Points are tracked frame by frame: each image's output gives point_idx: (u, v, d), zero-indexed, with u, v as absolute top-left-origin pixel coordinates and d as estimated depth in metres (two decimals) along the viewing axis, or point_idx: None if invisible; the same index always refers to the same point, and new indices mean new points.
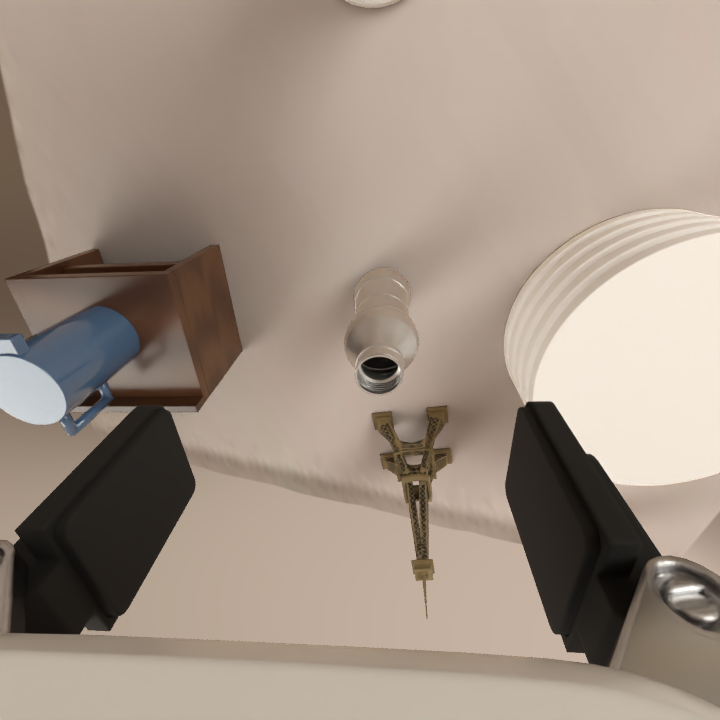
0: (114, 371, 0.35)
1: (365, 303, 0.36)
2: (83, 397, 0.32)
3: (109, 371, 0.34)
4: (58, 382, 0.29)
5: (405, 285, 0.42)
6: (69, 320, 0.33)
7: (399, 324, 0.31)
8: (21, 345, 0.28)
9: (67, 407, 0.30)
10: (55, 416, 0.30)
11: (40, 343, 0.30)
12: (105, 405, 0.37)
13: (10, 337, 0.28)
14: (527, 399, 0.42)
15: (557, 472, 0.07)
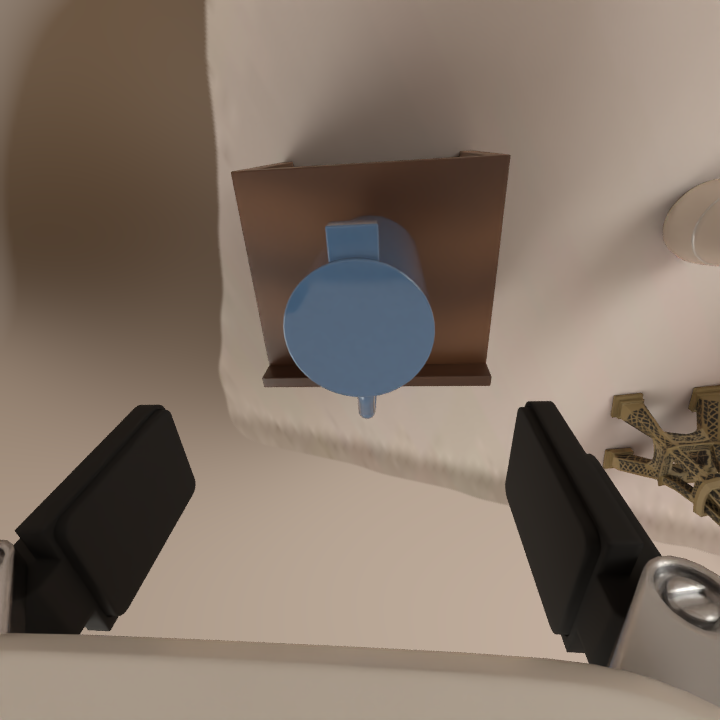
0: None
1: None
2: None
3: None
4: (432, 313, 0.16)
5: None
6: None
7: None
8: (379, 242, 0.15)
9: None
10: (394, 380, 0.17)
11: (379, 248, 0.16)
12: None
13: (371, 222, 0.14)
14: None
15: (557, 472, 0.07)
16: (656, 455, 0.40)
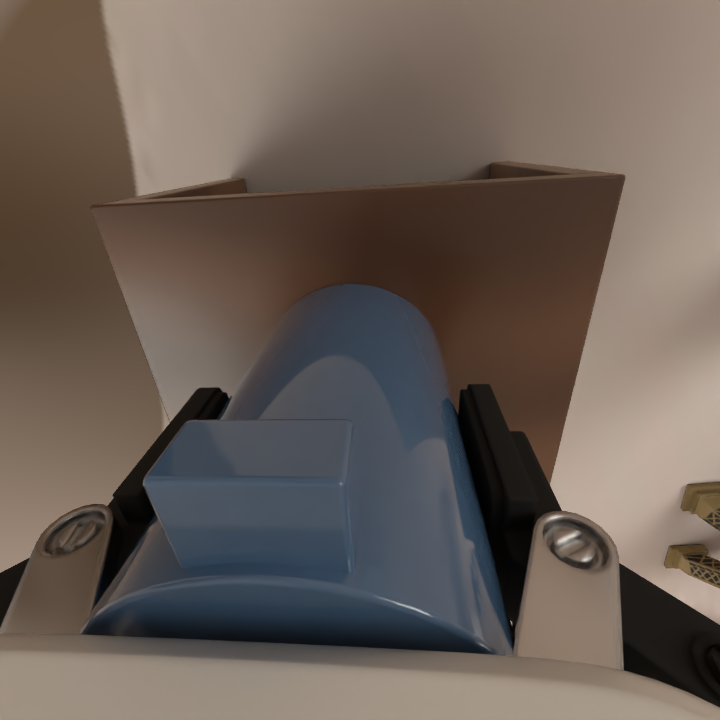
0: None
1: None
2: None
3: None
4: None
5: None
6: (338, 327, 0.10)
7: None
8: (355, 498, 0.04)
9: None
10: None
11: (361, 447, 0.06)
12: None
13: (321, 463, 0.04)
14: None
15: (480, 443, 0.08)
16: None
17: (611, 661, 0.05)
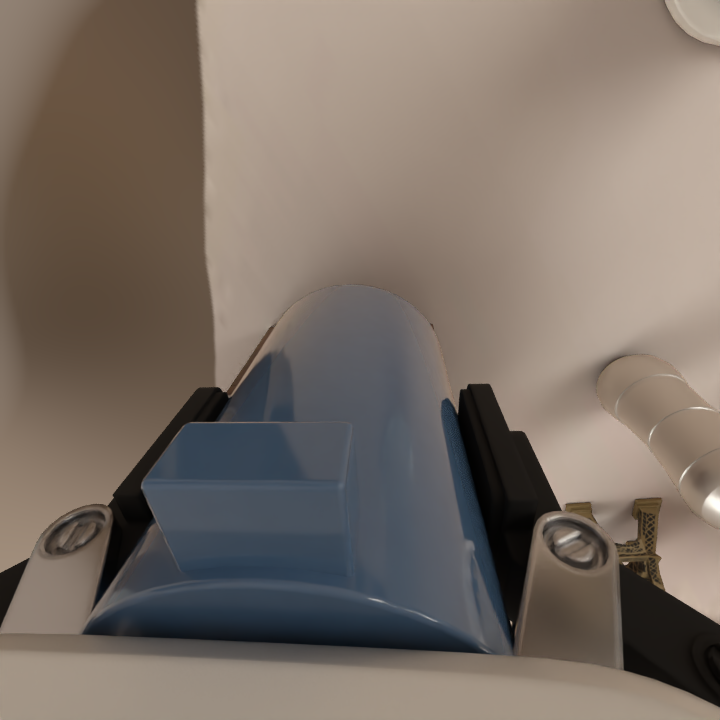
0: None
1: (690, 424, 0.28)
2: None
3: None
4: None
5: (685, 381, 0.34)
6: (338, 328, 0.10)
7: None
8: (355, 501, 0.04)
9: None
10: None
11: (361, 449, 0.06)
12: None
13: (320, 467, 0.04)
14: None
15: (480, 443, 0.08)
16: None
17: (611, 661, 0.05)
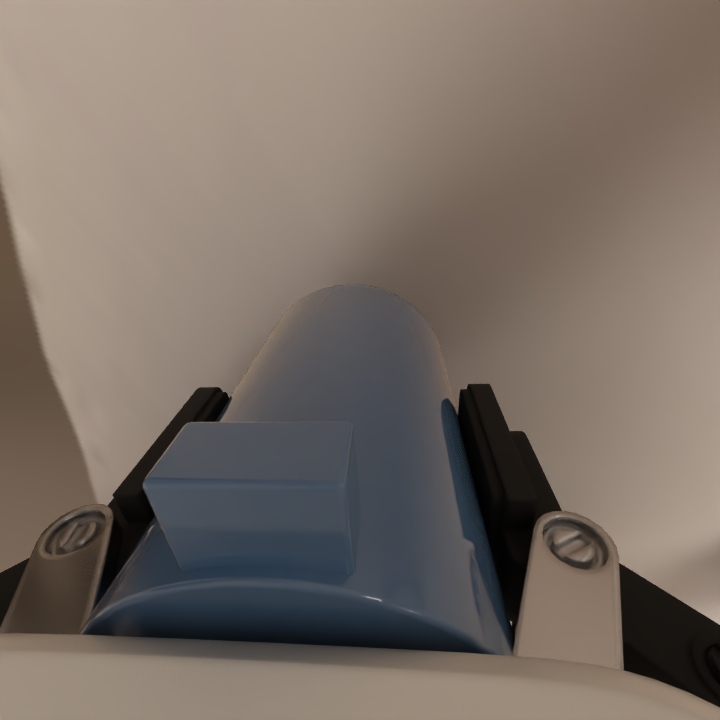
0: None
1: None
2: None
3: None
4: None
5: None
6: (338, 328, 0.10)
7: None
8: (355, 500, 0.04)
9: None
10: None
11: (361, 449, 0.06)
12: None
13: (321, 467, 0.04)
14: None
15: (480, 443, 0.08)
16: None
17: (611, 661, 0.05)
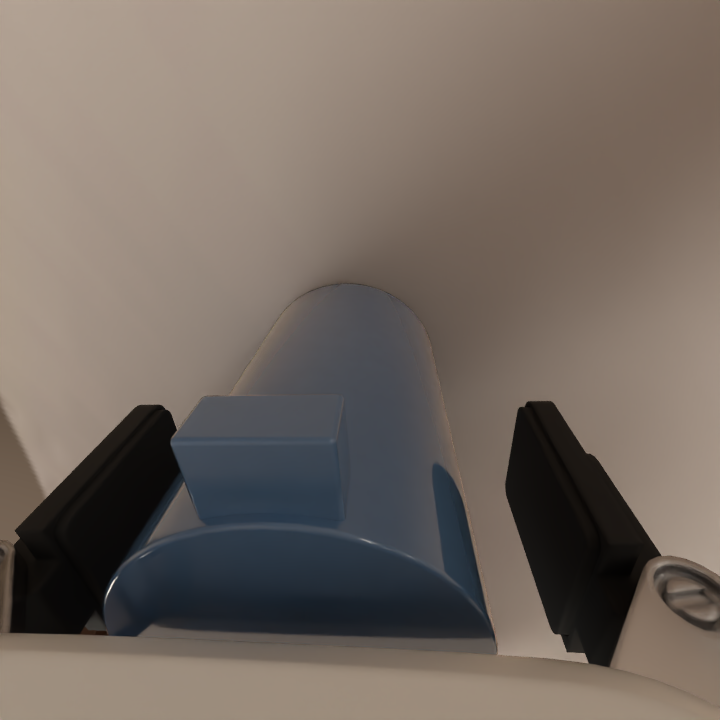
0: None
1: None
2: None
3: None
4: (494, 628, 0.06)
5: None
6: (334, 323, 0.10)
7: None
8: (345, 460, 0.05)
9: None
10: None
11: (353, 424, 0.07)
12: None
13: (316, 426, 0.05)
14: None
15: (557, 472, 0.07)
16: None
17: None
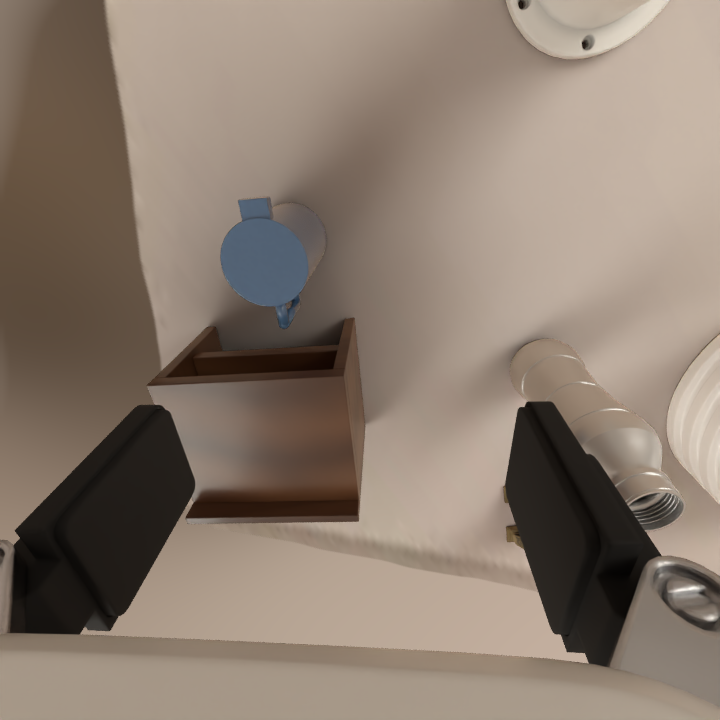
0: None
1: (569, 397, 0.31)
2: (308, 279, 0.30)
3: (317, 262, 0.33)
4: (304, 249, 0.27)
5: (582, 361, 0.36)
6: (279, 207, 0.32)
7: (650, 437, 0.26)
8: (270, 208, 0.27)
9: (306, 281, 0.28)
10: (290, 294, 0.29)
11: (276, 214, 0.28)
12: (298, 307, 0.35)
13: (263, 197, 0.26)
14: None
15: (557, 472, 0.07)
16: None
17: None
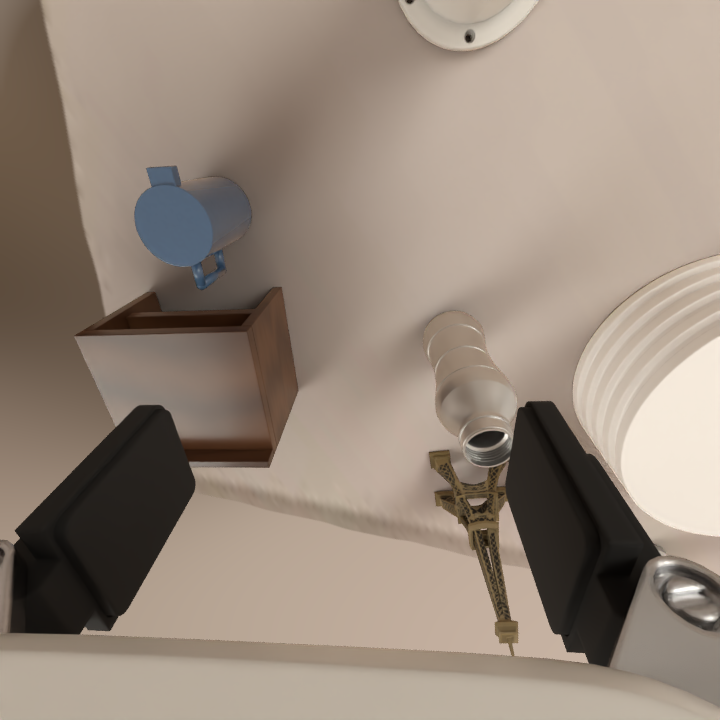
0: (236, 233, 0.37)
1: (451, 357, 0.34)
2: (219, 244, 0.33)
3: (234, 230, 0.36)
4: (208, 214, 0.31)
5: (481, 331, 0.40)
6: (199, 178, 0.35)
7: (502, 388, 0.29)
8: (176, 176, 0.30)
9: (212, 244, 0.32)
10: (199, 255, 0.32)
11: (187, 183, 0.31)
12: (222, 273, 0.39)
13: (169, 166, 0.29)
14: (609, 449, 0.40)
15: (557, 472, 0.07)
16: (455, 500, 0.52)
17: None
